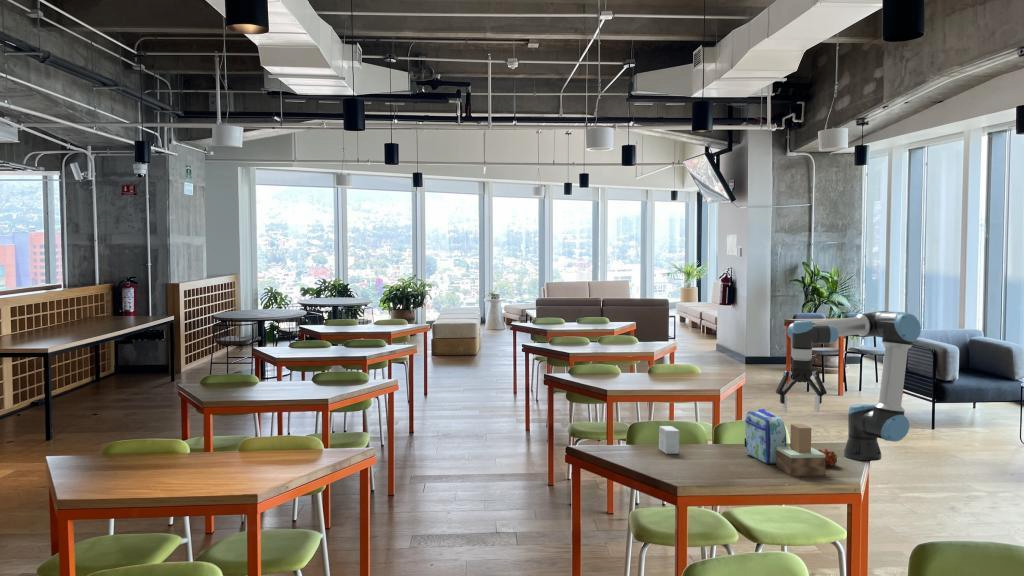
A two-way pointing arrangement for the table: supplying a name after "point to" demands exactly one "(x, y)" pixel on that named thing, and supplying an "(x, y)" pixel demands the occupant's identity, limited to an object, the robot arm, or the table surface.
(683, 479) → the table surface
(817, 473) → the box
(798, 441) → the lid
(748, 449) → the lunch box
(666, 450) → the skincare box
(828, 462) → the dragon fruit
